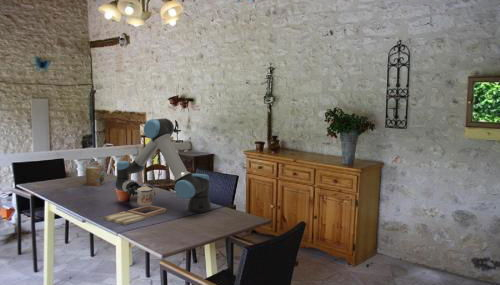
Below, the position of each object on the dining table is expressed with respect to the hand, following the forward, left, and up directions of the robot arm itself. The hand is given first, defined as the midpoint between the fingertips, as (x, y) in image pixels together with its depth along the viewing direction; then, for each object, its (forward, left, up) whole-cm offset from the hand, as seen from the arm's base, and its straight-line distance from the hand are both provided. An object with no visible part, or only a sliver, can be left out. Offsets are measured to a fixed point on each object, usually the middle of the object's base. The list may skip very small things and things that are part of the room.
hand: (150, 192), depth 253 cm
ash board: (+3, +17, -13) cm, 22 cm away
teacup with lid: (+4, -1, -7) cm, 8 cm away
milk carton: (+95, -33, -14) cm, 102 cm away
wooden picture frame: (+3, -1, -13) cm, 14 cm away
